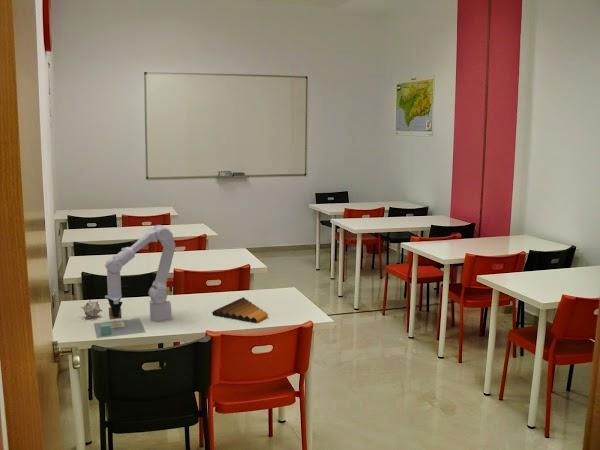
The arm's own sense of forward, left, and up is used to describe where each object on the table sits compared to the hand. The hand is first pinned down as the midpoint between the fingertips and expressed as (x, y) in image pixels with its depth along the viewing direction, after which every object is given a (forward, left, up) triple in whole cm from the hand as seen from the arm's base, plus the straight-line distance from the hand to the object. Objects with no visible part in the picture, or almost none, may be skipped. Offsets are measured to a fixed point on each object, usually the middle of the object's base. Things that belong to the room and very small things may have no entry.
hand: (115, 315), depth 268 cm
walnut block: (0, 0, -1) cm, 1 cm away
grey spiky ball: (+9, -18, -6) cm, 21 cm away
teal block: (+5, +10, -5) cm, 12 cm away
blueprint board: (-1, +4, -5) cm, 7 cm away
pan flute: (-62, 0, -6) cm, 62 cm away
